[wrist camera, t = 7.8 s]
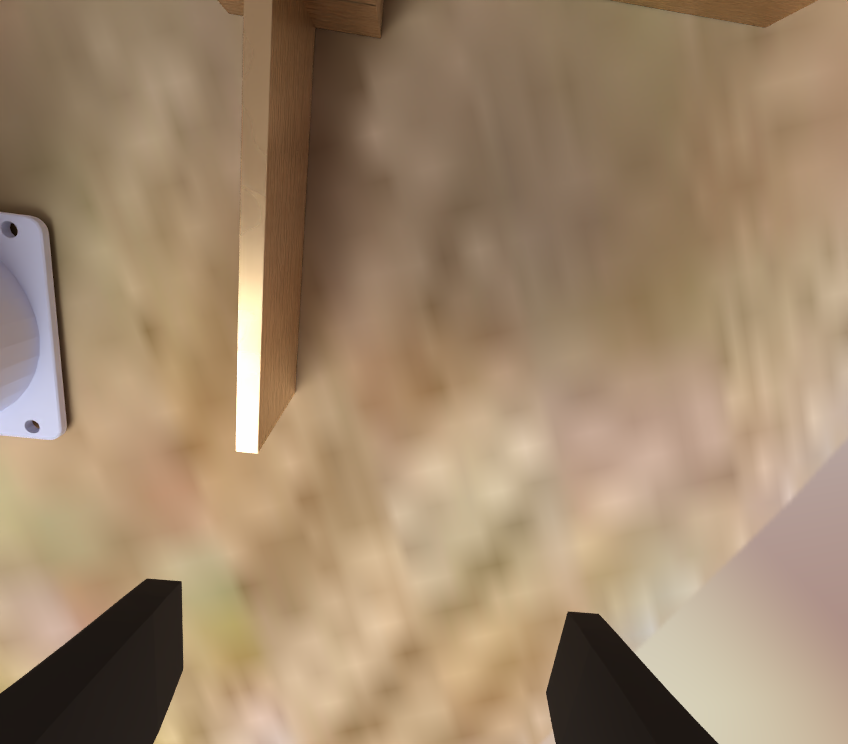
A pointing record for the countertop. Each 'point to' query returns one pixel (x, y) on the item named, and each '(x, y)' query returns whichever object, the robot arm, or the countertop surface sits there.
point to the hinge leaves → (287, 177)
